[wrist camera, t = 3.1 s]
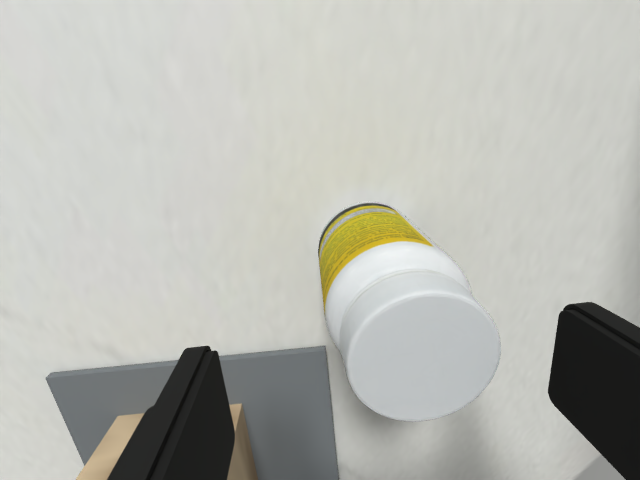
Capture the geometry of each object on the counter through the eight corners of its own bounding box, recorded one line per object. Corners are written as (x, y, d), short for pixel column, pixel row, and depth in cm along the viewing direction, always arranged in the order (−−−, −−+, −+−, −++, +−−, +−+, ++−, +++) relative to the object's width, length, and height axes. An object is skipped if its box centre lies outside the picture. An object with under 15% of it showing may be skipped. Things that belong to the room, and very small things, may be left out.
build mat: (325, 345, 18) (325, 350, 17) (339, 486, 21) (339, 492, 21) (51, 372, 18) (45, 378, 17) (110, 509, 21) (107, 516, 21)
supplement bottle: (299, 257, 16) (291, 382, 8) (357, 179, 15) (413, 236, 7) (374, 306, 17) (432, 458, 9) (433, 236, 16) (558, 341, 8)
